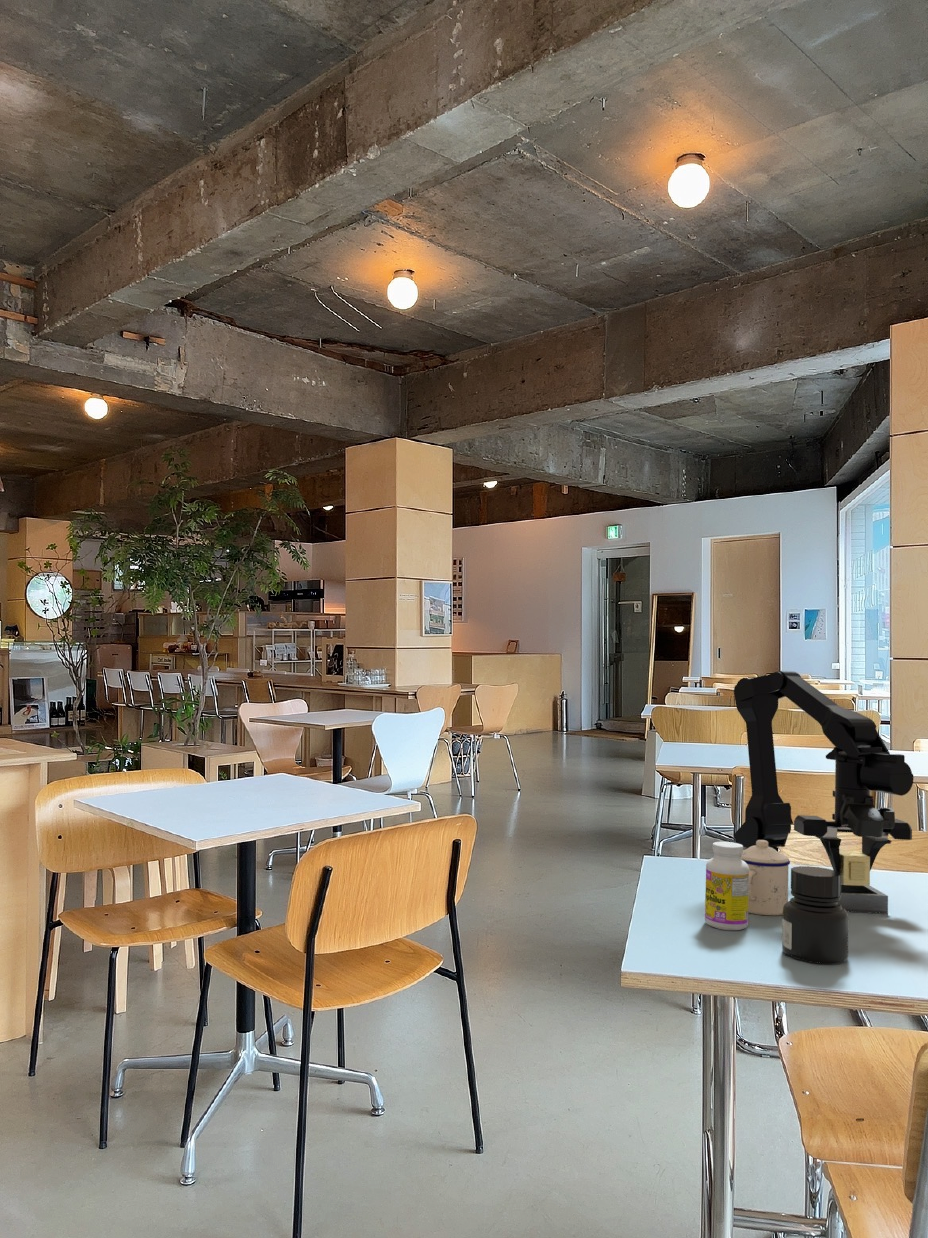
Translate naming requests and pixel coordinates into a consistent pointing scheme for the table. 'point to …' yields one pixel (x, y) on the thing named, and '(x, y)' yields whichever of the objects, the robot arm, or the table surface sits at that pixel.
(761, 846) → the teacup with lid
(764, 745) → the robot arm
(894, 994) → the table surface
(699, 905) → the table surface
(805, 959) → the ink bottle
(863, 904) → the dark grey tray
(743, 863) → the supplement bottle
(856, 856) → the pale yellow block
